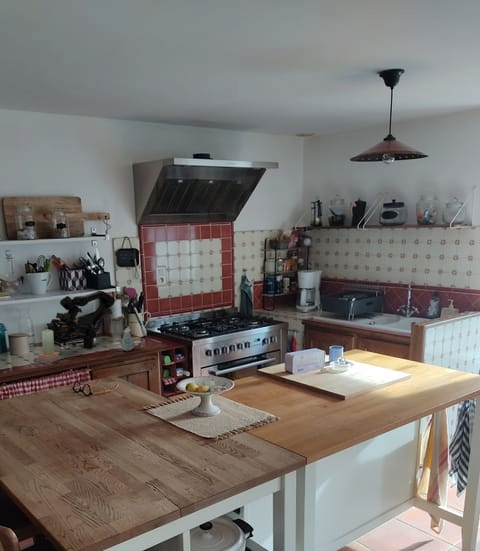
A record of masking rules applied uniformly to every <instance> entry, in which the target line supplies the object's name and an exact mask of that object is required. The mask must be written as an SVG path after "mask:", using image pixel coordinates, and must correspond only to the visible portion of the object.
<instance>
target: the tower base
mask: <svg viewBox="0 0 480 551" xmlns="http://www.w3.org/2000/svg"><path fill="white" fill-rule="evenodd" d="M63 358H65V357H64V356H63V355H60V352H57V351H54V354H51V355H44V354H43V352H41V353H39V354H37V357H34V358H33V360H32V362H33V363H37V362H39V363H38V364H42V363H47V364H48V363H51V362H54V361H57V360H60V359H63ZM63 360H64V359H63ZM60 361H61V360H60ZM57 362H58V361H57ZM54 363H55V362H54ZM47 364H46V365H47ZM51 364H52V363H51Z"/></svg>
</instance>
